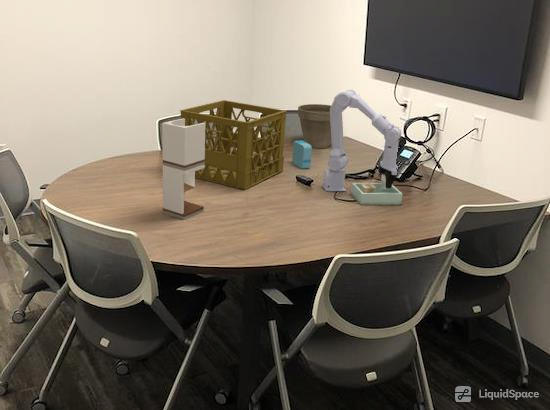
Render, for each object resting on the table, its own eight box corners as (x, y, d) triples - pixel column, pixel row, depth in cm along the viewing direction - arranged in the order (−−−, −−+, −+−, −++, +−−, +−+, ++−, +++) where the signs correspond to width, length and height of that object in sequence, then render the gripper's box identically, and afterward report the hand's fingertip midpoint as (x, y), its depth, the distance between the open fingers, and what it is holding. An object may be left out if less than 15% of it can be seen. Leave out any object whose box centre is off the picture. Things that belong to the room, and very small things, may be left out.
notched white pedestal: (184, 219, 214) (185, 128, 202) (163, 213, 219) (162, 122, 207) (203, 211, 223) (205, 123, 211) (182, 205, 228) (183, 118, 216)
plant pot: (292, 148, 321) (295, 109, 314) (298, 138, 344) (300, 102, 336) (336, 152, 318) (340, 114, 310) (339, 142, 341) (343, 106, 333)
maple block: (363, 199, 245) (365, 188, 243) (359, 195, 250) (361, 184, 248) (374, 199, 246) (376, 188, 244) (370, 195, 251) (372, 184, 249)
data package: (310, 169, 285) (312, 145, 281) (302, 169, 284) (303, 146, 280) (299, 162, 296) (301, 139, 291) (291, 162, 294) (293, 140, 290)
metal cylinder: (382, 192, 246) (384, 176, 243) (378, 188, 250) (380, 172, 248) (393, 192, 247) (395, 176, 244) (388, 188, 251) (390, 172, 249)
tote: (360, 205, 241) (362, 193, 239) (350, 193, 254) (351, 183, 252) (401, 204, 244) (402, 193, 243) (389, 193, 257) (390, 183, 255)
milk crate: (179, 174, 264) (179, 110, 254) (222, 158, 294) (223, 100, 283) (244, 190, 249) (248, 123, 238) (282, 171, 279) (287, 110, 268)
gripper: (405, 160, 237) (401, 191, 242) (392, 151, 250) (388, 180, 255) (389, 160, 236) (385, 191, 240) (377, 150, 249) (373, 180, 254)
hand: (385, 185), depth 248 cm, fingers closed on metal cylinder, 5 cm apart
